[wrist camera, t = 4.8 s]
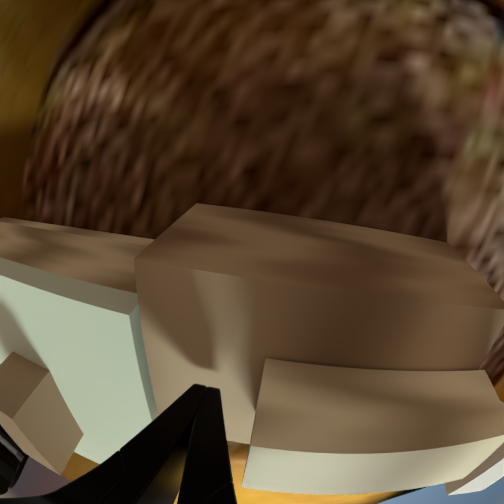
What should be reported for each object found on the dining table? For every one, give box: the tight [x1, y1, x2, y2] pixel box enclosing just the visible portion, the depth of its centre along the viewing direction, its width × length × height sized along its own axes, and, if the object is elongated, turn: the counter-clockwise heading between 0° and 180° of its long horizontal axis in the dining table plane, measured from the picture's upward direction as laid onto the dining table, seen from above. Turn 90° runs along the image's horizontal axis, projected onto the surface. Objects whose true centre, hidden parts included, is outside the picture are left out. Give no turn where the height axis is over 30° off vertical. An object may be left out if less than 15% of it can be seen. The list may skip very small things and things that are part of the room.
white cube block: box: [445, 401, 504, 495], centre depth 15 cm, size 6×6×6 cm
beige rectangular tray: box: [0, 203, 504, 444], centre depth 14 cm, size 26×18×6 cm
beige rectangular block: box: [242, 358, 504, 495], centre depth 7 cm, size 8×3×3 cm, turn 85°
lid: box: [0, 257, 158, 475], centre depth 12 cm, size 14×16×6 cm
